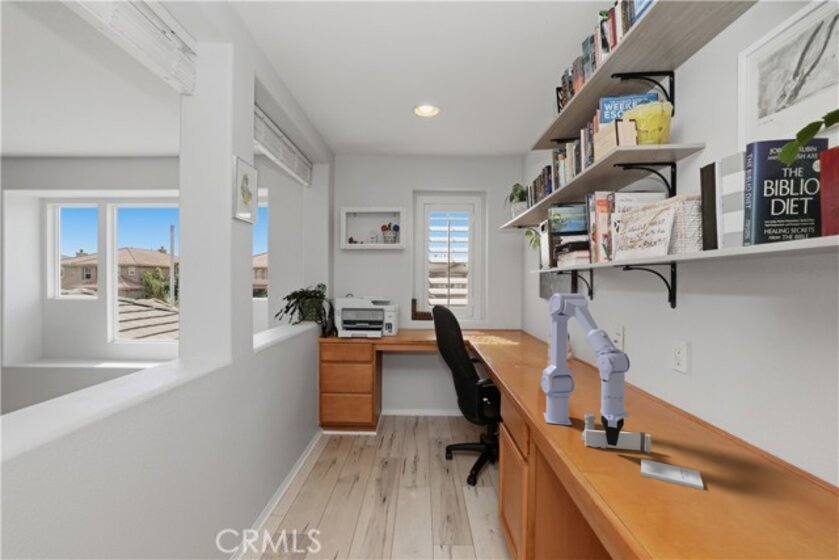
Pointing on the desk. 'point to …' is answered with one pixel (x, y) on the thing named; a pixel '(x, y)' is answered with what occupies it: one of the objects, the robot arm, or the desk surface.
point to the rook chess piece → (588, 423)
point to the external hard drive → (671, 474)
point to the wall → (599, 439)
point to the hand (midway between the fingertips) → (612, 444)
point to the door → (630, 441)
